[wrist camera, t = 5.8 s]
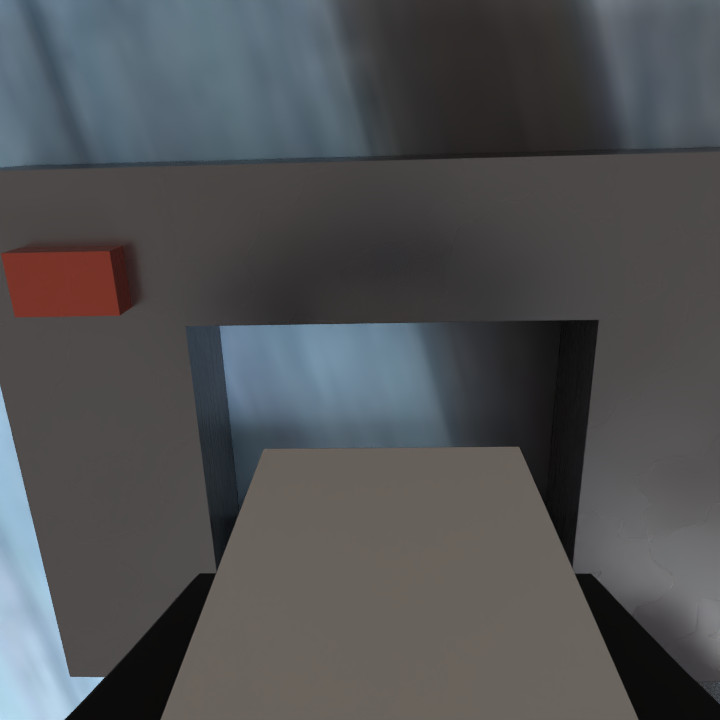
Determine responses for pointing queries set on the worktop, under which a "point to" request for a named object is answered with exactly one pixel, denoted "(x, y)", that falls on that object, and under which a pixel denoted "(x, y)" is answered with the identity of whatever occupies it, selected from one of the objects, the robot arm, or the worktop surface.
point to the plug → (396, 597)
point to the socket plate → (349, 306)
